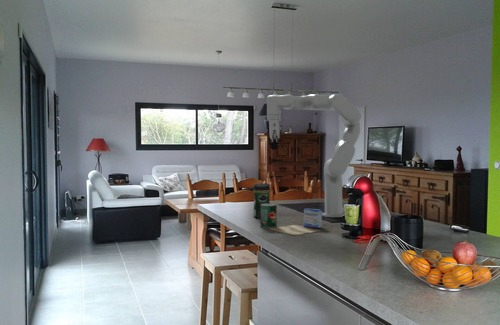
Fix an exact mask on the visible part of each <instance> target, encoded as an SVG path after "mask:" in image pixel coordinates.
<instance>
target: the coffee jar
mask: <svg viewBox="0 0 500 325" xmlns="http://www.w3.org/2000/svg"><path fill="white" fill-rule="evenodd" d="M252 193H253V196H254V197H253V199H254V200H253V201H254V202H253V217H254V218H260V219H261V204H264V203H270V193H271V186H270V184H269V183H264V182H263V183H262V182H261V183H254V184H253V188H252Z"/></svg>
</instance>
